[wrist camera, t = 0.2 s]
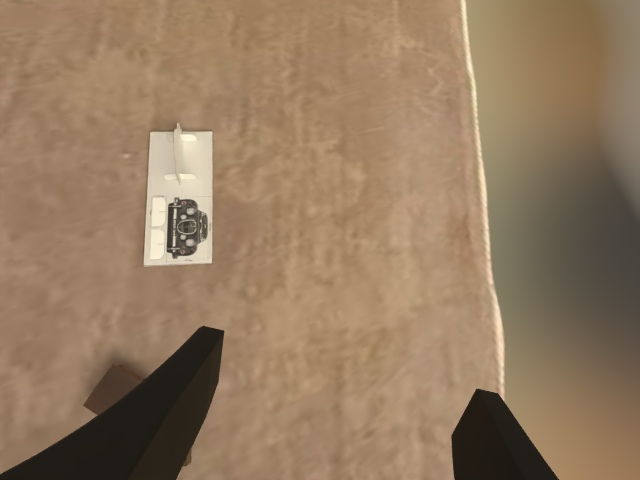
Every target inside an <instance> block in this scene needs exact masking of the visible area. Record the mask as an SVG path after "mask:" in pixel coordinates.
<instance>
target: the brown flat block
mask: <svg viewBox="0 0 640 480" xmlns="http://www.w3.org/2000/svg"><path fill="white" fill-rule="evenodd" d="M142 381H144V380H143V379H141V378H140V377H138V376H136V375H135V374H133V373H132V372H130V371H129V370H127V369H126V368H124V367H122V366H121V365H115V364H113V365H112V366H111V368H110V369H109V370H108V372H107V373H106V375H105V376H104V377H103V379H102V380H101V381H100V383H99V384H98V386H97V387H96V388H95V390H94V391H93V392H92V394H91V395H90V397H89V398H88V399H87V401H86V402H85V403H84V405H83V406H85V407H86V408H88V409H89V410H91V411H92V412H94V413H95V414H97V415H99V414H101V413H102V412H104V411H105V410H106V409H108V408H109V407H110V406H112V405H113V404H115V403H116V402H117V401H119V400H120V399H121V398H122V397H124V396H125V395H126V394H127V393H129V392H130V391H131V390H132V389H134V388H135V387H136V386H137V385H139V384H140V383H141V382H142Z"/></svg>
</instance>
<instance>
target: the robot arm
mask: <svg viewBox="0 0 640 480" xmlns="http://www.w3.org/2000/svg"><path fill="white" fill-rule="evenodd" d="M223 338H224V331H223V330H219V329H214V328H210V327H206V326H202V327H200V328H199V329H198V330H197V331H196V332H195V333H194V334H193V335H192V336H191V337H190V338H189V339H188V340H187V341H186V342H185V343H184V344H183V345H182V346H181V347H180V348H179V349H178V350H177V351H176V352H175V353H174V354H173V355H172V356H171V357H170V358H169V359H167V360H166V361H165V362H164V363H163V364H162V365H161V366H160V367H158V368H157V369H156V370H155V371H154V372H153V373H152V374H151V375H149V376H148V377H147V378H146V379H145V380H144V381H142V382H141V383H140V384H139V385H137V386H136V387H135V388H134V389H132V390H131V391H130V392H129V393H127V394H126V395H125V396H124V397H122V398H121V399H120V400H119V401H117V402H116V403H115V404H113V405H112V406H110V407H109V408H108V409H106V410H105V411H104V412H102V413H101V414H99V415H98V416H97V417H95V418H94V419H92V420H91V421H89V422H88V423H86V424H85V425H83V426H82V427H80V428H79V429H77V430H76V431H74V432H73V433H71V434H69V435H68V436H66V437H65V438H63V439H61V440H60V441H58V442H57V443H55V444H53V445H52V446H50V447H48V448H47V449H45V450H43V451H42V452H40V453H38V454H37V455H35V456H33V457H31V458H29V459H27V460H26V461H24V462H22V463H20V464H18V465H16V466H15V467H13V468H11V469H9V470H7V471H5V472H4V473H2V474H0V480H176V478H177V476H178V474H179V472H180V470H181V468H182V466H183V464H184V462H185V460H186V458H187V456H188V454H189V451H190V449H191V447H192V445H193V443H194V441H195V439H196V437H197V435H198V433H199V431H200V428H201V426H202V424H203V422H204V420H205V418H206V415H207V413H208V410H209V407H210V404H211V402H212V399H213V396H214V393H215V390H216V387H217V384H218V380H219V372H220V363H221V355H222V346H223ZM452 457H453V470H454V478H455V480H559V479H558V478H557V477H556V475H555V474H554V472H553V471H552V470H551V468H550V467H549V466H548V464H547V463H546V461H545V460H544V459H543V457H542V456H541V454H540V453H539V452H538V450H537V449H536V447H535V446H534V445H533V443H532V442H531V440H530V439H529V437H528V436H527V435H526V433H525V432H524V430H523V429H522V427H521V426H520V424H519V423H518V421H517V420H516V418H515V417H514V416H513V414H512V413H511V411H510V410H509V408H508V407H507V405H506V404H505V402H504V401H503V400H502V398H501V397H500V395H499V394H498V393H494V392H489V391H485V390H481V389H476V391H475V393H474V394H473V396H472V398H471V400H470V402H469V404H468V406H467V408H466V409H465V411H464V413H463V415H462V417H461V419H460V421H459V423H458V424H457V426H456V428H455V430H454V432H453V434H452Z"/></svg>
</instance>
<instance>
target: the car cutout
mask: <svg viewBox="0 0 640 480" xmlns="http://www.w3.org/2000/svg"><path fill="white" fill-rule="evenodd" d="M197 264H213V131H190V132H182V129H181V128H180V126H179V123H177V124H176V129H174V132H150V147H149V167H148V186H147V206H146V225H145V245H144V264H143V266H144V267H150V266H173V265H197Z"/></svg>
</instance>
